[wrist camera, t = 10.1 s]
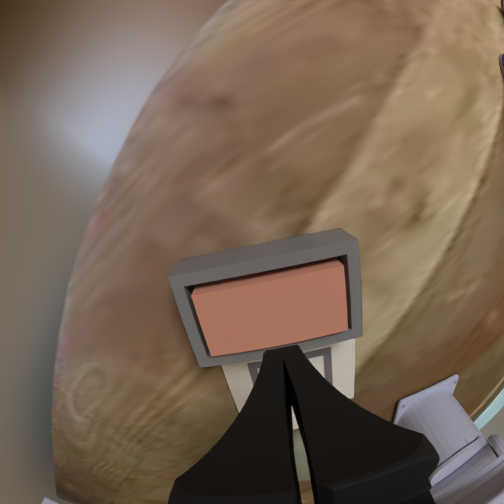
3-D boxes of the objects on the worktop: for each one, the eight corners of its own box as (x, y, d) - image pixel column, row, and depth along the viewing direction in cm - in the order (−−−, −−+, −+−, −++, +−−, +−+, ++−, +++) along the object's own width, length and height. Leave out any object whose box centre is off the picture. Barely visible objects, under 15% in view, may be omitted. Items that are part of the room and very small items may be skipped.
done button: (339, 315, 16) (347, 329, 15) (214, 339, 17) (211, 356, 15) (333, 255, 15) (343, 265, 14) (197, 282, 16) (191, 295, 14)
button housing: (347, 313, 18) (362, 336, 15) (206, 341, 19) (200, 367, 16) (340, 228, 16) (358, 238, 14) (180, 259, 17) (167, 276, 14)
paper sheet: (352, 395, 20) (353, 397, 20) (241, 417, 21) (241, 420, 21) (353, 333, 19) (355, 336, 18) (220, 360, 19) (220, 363, 19)
